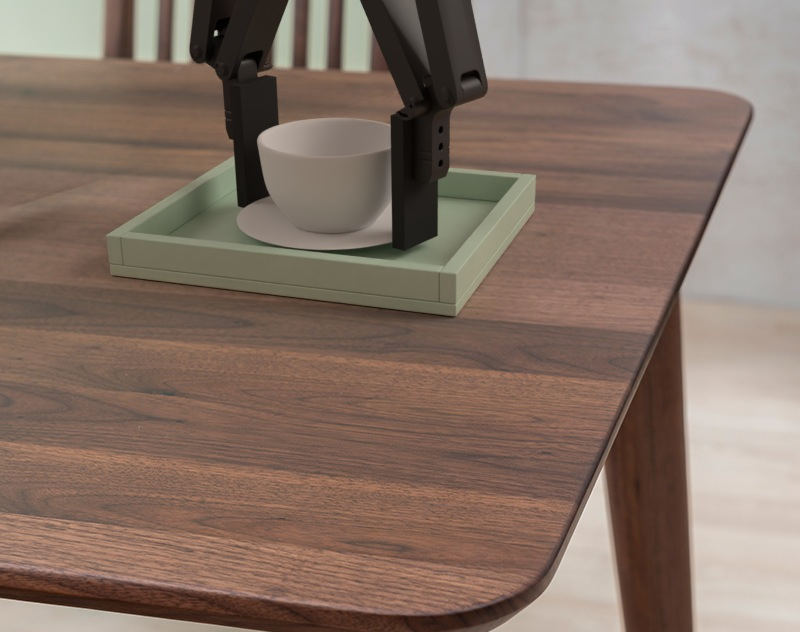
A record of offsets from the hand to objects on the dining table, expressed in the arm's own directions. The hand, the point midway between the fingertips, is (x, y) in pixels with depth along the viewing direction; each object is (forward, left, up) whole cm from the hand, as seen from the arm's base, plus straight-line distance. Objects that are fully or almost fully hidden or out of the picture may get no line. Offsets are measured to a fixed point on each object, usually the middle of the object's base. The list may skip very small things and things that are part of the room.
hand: (334, 220), depth 65 cm
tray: (0, 0, -1) cm, 1 cm away
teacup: (0, 0, 0) cm, 0 cm away
